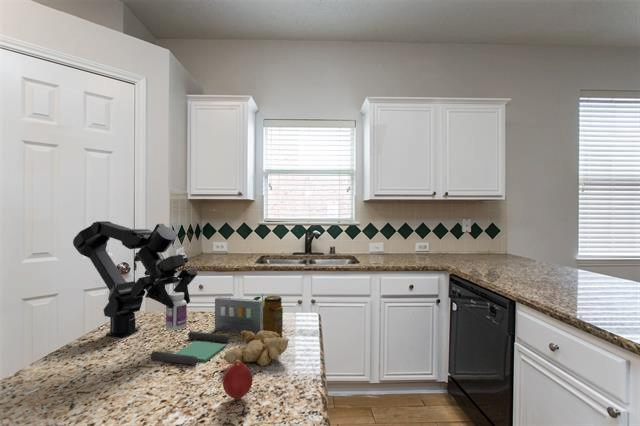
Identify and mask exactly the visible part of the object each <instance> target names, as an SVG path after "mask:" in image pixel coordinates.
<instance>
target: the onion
mask: <svg viewBox="0 0 640 426" xmlns="http://www.w3.org/2000/svg"><path fill="white" fill-rule="evenodd" d="M234 363H235V364H231V366H229V368H228V369H227V370H226V372H225V374H224V376H223V379H222V386H223V387H222V388H223V390H224V392H225V394H227V396H228V397H231V398H232V399H233V400H235V401H239V400H241V399H242V398H243V397H244V396H245V395H247V394H248V393H249V392H250V390H251V388H252V385H253V374H252V372H251V370H250V368H249V367H248V366H247V364H244V362H242V363H241V361H240V360H236V361H235V362H234Z"/></svg>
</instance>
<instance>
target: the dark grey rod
mask: <svg viewBox="0 0 640 426" xmlns="http://www.w3.org/2000/svg"><path fill="white" fill-rule="evenodd" d="M187 336H188V338H189V339H194V340H205V341H211V342H220V343H227V342H229V340H230V336H229V335H228V334H221V333H213V332H203V331H202V332H201V331H195V330H194V331H192V330H191V331H189V332H188V335H187Z"/></svg>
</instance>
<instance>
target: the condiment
mask: <svg viewBox="0 0 640 426" xmlns="http://www.w3.org/2000/svg"><path fill="white" fill-rule="evenodd" d="M282 299H283V298H282V297H281V296H278V295H270V296H266V297H264V298H263V300H264V301H265V302H264V307H263V331H272V332H276V333H277V334H279V335H280V338H285V339H286V340H288V341H289V340H290V339H289V338H288V337H287V335H285V334H284V333H283V329H284V328H283V327H284V325H283V324H284V323H283V322H284V320H283V319H284V318H283V315H284V314H283V313H284V312H283V311H284V310H283V303H282Z"/></svg>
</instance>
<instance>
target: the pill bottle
mask: <svg viewBox="0 0 640 426" xmlns="http://www.w3.org/2000/svg"><path fill="white" fill-rule="evenodd" d="M168 295H169V296H170V298H171V300H172V301H173V304H174V307H173V308H172V309H171V308H169V307H167V306H166V305H165V328H166V330H169V331H179V330H182V329H185V328H186V326H187V320H188V319H187V316H188V313H187V309H188V307H187V305H188V304H187V302H186V301H185V300H184V299H183V298H184V293H183V292H175V291H174V292H171V293H168Z"/></svg>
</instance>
